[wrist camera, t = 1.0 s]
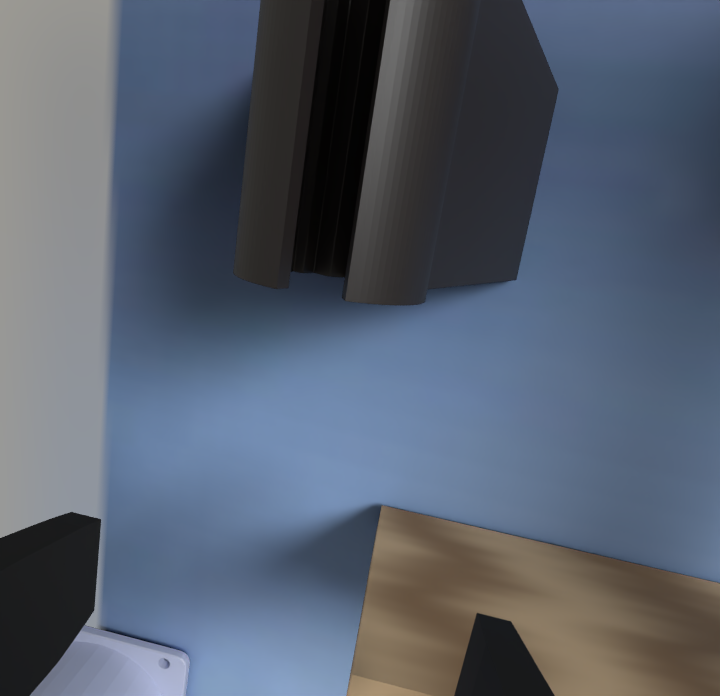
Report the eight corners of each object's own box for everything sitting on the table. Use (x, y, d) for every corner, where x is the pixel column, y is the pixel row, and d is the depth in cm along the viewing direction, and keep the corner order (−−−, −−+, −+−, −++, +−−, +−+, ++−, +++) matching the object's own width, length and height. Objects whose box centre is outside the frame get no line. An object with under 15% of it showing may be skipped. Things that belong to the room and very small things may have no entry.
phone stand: (261, 236, 19) (-7, 239, 7) (283, 55, 18) (-4, -296, 6) (514, 280, 18) (663, 361, 7) (556, 93, 17) (842, -226, 5)
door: (902, 625, 19) (1242, 906, 11) (875, 681, 19) (1180, 987, 11) (382, 505, 20) (351, 674, 12) (370, 559, 21) (334, 754, 13)
